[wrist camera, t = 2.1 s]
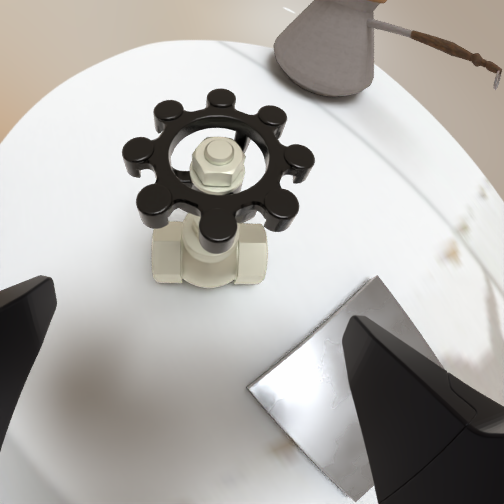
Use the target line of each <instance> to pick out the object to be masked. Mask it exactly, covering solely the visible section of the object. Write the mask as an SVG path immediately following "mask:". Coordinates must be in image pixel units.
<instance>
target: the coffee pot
mask: <svg viewBox="0 0 504 504" xmlns="http://www.w3.org/2000/svg"><path fill="white" fill-rule="evenodd" d="M386 1H387V0H314V1H313V2H312V3H311V4H310V5H309V6H308V7H307V8H306V9H305V10H304V11H303V12H302V13H301V14H300V15H299V16H298V17H297V18H296V19H295V20H294V21H293V22H292V23H291V24H290V25H289V26H288V27H287V28H286V29H285V30H284V31H283V32H282V33H281V34H280V35H279V36H278V37H277V39H276V41H275V43H274V52H275V56H276V60H277V61H278V63H279V65H280V66H281V68H282V69H283V70H284V71H285V72H286V73H287V75H288V76H289V78H290V79H291V80H292V81H293V82H294V83H296V84H297V85H299V86H300V87H302V88H304V89H306V90H308V91H310V92H312V93H315V94H318V95H323V96H328V97H337V96H346V95H352V94H357V93H359V92H361V91H363V90H364V89H366V88H367V87H369V86H370V85H371V83H372V80H373V78H374V28H376V29H380V30H384V31H388V32H392V33H396V34H400V35H403V36H406V37H410V38H412V39H414V40H416V41H419V42H421V43H424V44H426V45H429V46H431V47H434V48H436V49H438V50H441V51H443V52H445V53H447V54H449V55H451V56H455V57H459V58H462V59H465V60H469V61H472V63H473V64H474V65H475V66H483V67H486V68H487V70H489V71H491V72H493V73H497V74H496V77H495V82H494V89H495V90H496V89H497V87H498V84H499V81H500V76H501V72H502V69H501V68H500V67H498V66H497V65H496V64H494V63H493V62H490V61H486V60H484V59H482V57H481V56H480V54H478V53H475V54H472V53H470V52H469V51H467V50H465V49H464V48H462V47H460V46H458V45H457V44H455V43H453V42H450V41H447V40H444V39H441V38H438V37H434V36H431V35H427V34H424V33H421V32H417V31H411V30H408V29H405V28H402V27H398V26H395V25H392V24H389V23H385V22H381V21H378V20H374V18H373V11H374V10H375V8H376V7H377V6H378V5H379V4H380V3H385V2H386ZM498 75H499V76H498ZM497 78H498V81H497ZM496 82H497V84H496Z"/></svg>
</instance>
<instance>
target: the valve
mask: <svg viewBox="0 0 504 504" xmlns="http://www.w3.org/2000/svg"><path fill="white" fill-rule="evenodd" d="M235 102H236V97H235V95H234V94H233V93H232V92H231V91H229V90H226V89H215V90H212V91H211V92H209V94H208V95H207V101H206V108H205V109H202V110H198V111H194V112H188V111H185V110H184V109H183V106H182V104H181V103H179V102H177V101H174V100H166V101H163V102H160V103H159V104H158V105H156V107H155V108H154V121H155V129H156V131H157V132H158V133H161V132H162V131H163V132H162V133H161V135H160V136H159V137H158V138H157V139H155V140H150V139H148V138H145V137H137V138H133V139H131V140H130V141H128V142H127V143H126V144H125V145H124V147H123V150H122V156H123V159H124V163H125V166H126V169H127V172H128V173H129V174H130V175H131V176H133V177H137V178H140V177H141V170H143V169H150V170H152V171H153V172H154V173H155V177H156V182H155V184H151V185H148V186H146V187H144V188H143V189H142V190H141V191H140V192H139V193H138V195H137V199H136V205H137V208H138V211H139V214H140V217H141V220H142V222H143V223H144V224H145V225H146V226H148V227H150V228H153V229H154V231H153V237H152V249H151V262H152V273H153V277H154V279H155V280H156V281H157V282H158V283H182V279H184V280H185V281H187V282H189V283H190V284H193V285H195V286H198V287H203V288H216V287H220V286H223V285H226V284H228V283H230V282H231V281H233V280H234V283H235V284H259V283H261V282H262V281H263V280H264V278H265V275H266V269H267V259H268V245H267V236H266V232H265V229H264V227H265V228H267V229H268V230H270V231H273V232H281V231H284V230H286V229H287V228H288V227H289V226H290V225H291V223H292V221H293V220H294V218H295V217H296V215H297V213H298V211H299V202H298V200H297V198H296V196H295V195H294V194H293V193H292V192H290V191H288V190H286V189H282V188H281V186H280V179H281V177H282V176H284V175H293V183H295V184H297V183H301V182H303V181H304V180H305V179H306V178H307V176H308V174H309V172H310V171H311V169H312V167H313V165H314V163H315V158H314V155H313V153H312V152H311V151H310V150H309V149H308V148H307V147H305V146H302V145H299V144H293V145H290V146H288V147H287V146H284V145H282V144H281V143H280V142H279V140H278V139H279V138H280V137H281V135H282V132H283V129H284V127H285V124H286V121H287V116H286V113H285V112H284V111H283V110H282V109H280V108H278V107H276V106H270V105H268V106H264V107H262V108H260V109H259V111H258V113H257V114H255V115H248V114H245V113H242V112H239V111H237V110H236V109H235V108H234V107H235ZM206 128H226V129H230V130H234V131H236V133H235V139H234V140H233V139H231V138H226V137H207V138H206V139H204V140H203V141H202V142H201V143H200V144H199V146H198V147H197V148H196V149H195V151H194V152H193V154H192V162H191V164H190V171H179V170H176V169H174V168H173V167H172V166H171V155H172V153H173V151H174V148H175V147H176V146H177V144H178V143H179V142H180V141H181V140H182V139H183V138H185V137H186V136H188V135H190V134H192V133H194V132H196V131H199V130H203V129H206ZM250 140H252V141H254V142H255V143H256V144H257V145H258V147H259V148H260V150H261V151H262V153H263V155H264V159H265V163H266V171H265V174H264V176H263V177H262V178H261V180H260V181H259V182H257V183H256V184H255V185H254V186H252V187H250V188H249V189H247V190H244V191H242V192H240V191H241V186H242V182H243V178H244V174H245V167H244V162H245V157H246V156H245V155H244V153H245V151H246V149H247V147H248V145H249V143H250ZM177 208H180V209H182V210H184V211H186V212H188V214H187V216H186V217H185V219H184V221H183V222H168V217H169V216H170V214H171V213H172V212H173V211H174V210H175V209H177ZM257 211H259V212H260V213H261V214H262V215H263V216H264V218H265V219H266V222H265V224H264V227H263V226H262V224H245V223H244V222H246V221H248V220H250V219H252V218H253V217H254V216H255V214H256V212H257Z"/></svg>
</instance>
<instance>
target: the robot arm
mask: <svg viewBox="0 0 504 504" xmlns="http://www.w3.org/2000/svg"><path fill="white" fill-rule="evenodd" d="M56 306H57V299H56V294H55V288H54V283H53V280H52V278H51V277H47V276H42V275H40V276H37V277H34V278H32V279H29V280H27V281H24V282H22V283H19V284H16V285H14V286H11V287H9V288H6V289H4V290H1V291H0V451H1V448H2V444H3V441H4V438H5V435H6V432H7V429H8V426H9V423H10V420H11V418H12V415H13V412H14V410H15V407H16V404H17V402H18V399H19V397H20V394H21V392H22V389H23V387H24V384H25V382H26V380H27V377H28V375H29V373H30V370H31V368H32V366H33V364H34V362H35V359H36V357H37V355H38V353H39V351H40V348H41V346H42V343H43V341H44V338H45V335H46V333H47V330H48V327H49V325H50V322H51V320H52V317H53V314H54V312H55V310H56ZM342 347H343V352H344V358H345V364H346V370H347V377H348V382H349V387H350V391H351V394H352V398H353V401H354V405H355V409H356V413H357V416H358V420H359V424H360V428H361V432H362V436H363V440H364V444H365V448H366V452H367V456H368V460H369V464H370V469H371V473H372V477H373V482H374V486H375V491H376V495H377V500H378V504H504V407H503V406H502V405H500V404H498V403H497V402H495V401H493V400H492V399H490V398H488V397H486V396H485V395H483V394H481V393H480V392H478V391H476V390H475V389H473V388H472V387H470V386H468V385H467V384H465V383H464V382H462V381H461V380H459V379H458V378H456V377H455V376H453V375H452V374H450V373H447V371H446V370H445V369H443V368H442V367H440V366H439V365H437V364H436V363H434V362H433V361H431V360H430V359H428V358H427V357H425V356H424V355H423V354H421V353H420V352H418V351H417V350H415V349H414V348H412V347H411V346H409V345H408V344H406V343H405V342H403V341H402V340H400V339H399V338H397V337H396V336H394V335H393V334H392V333H390V332H389V331H387V330H386V329H384V328H383V327H381V326H380V325H378V324H377V323H375V322H374V321H372V320H371V319H369V318H368V317H366V316H364V315H353V316H351V317H350V319H349V322H348V324H347V327H346V329H345V331H344V334H343V337H342Z"/></svg>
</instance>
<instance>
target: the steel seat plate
mask: <svg viewBox="0 0 504 504" xmlns="http://www.w3.org/2000/svg"><path fill="white" fill-rule="evenodd" d="M353 315H364V316H366V317H368V318H369V319H371V320H372V321H374V322H375V323H377V324H378V325H380V326H381V327H383V328H384V329H386V330H387V331H389V332H390V333H392V334H393V335H394V336H396V337H397V338H399V339H400V340H402V341H403V342H405V343H406V344H408V345H409V346H411V347H412V348H414V349H415V350H417V351H418V352H420V353H421V354H423V355H424V356H425V357H427V358H428V359H430V360H431V361H433V362H434V363H436V364H437V365H439V366H440V367H442V368H443V366H442V365H441V363H440V362H439V360H438V359H437V357H436V356H435V354H434V353H433V351H432V350H431V348H430V347H429V345H428V344H427V342H426V341H425V339H424V338H423V337H422V335H421V334H420V332H419V331H418V329H417V328H416V327H415V325H414V324H413V322H412V321H411V320H410V318H409V317H408V315H407V314H406V313H405V311H404V310H403V309H402V307H401V306H400V304H399V303H398V302H397V300H396V299H395V298H394V296H393V295H392V294H391V292H390V291H389V290H388V288H387V287H386V286H385V285H384V283H383V282H382V281H381V279H380V278H379V277H378V275H377V276H375V277H373V278H372V279H370V280H369V281H368V282H367V283H366V284H365V285H364V286H363V287H362V288H361V289H360V290H359V291H358V292H356V293H355V294H354V295H353V296H352V297H351V298H350V299H349V300H348V301H347V302H346V303H345V304H344V305H343V306H342V307H341V308H340V309H339V310H337V311H336V312H335V313H334V314H333V315H332V316H331V317H330V318H329V319H328V320H327V321H325V322H324V323H323V324H322V325H321V326H320V327H319V328H318V329H316V330H315V331H314V332H313V333H312V334H311V335H310V336H309V337H307V338H306V339H305V340H304V341H303V342H302V343H300V344H299V345H298V346H297V347H296V348H295V349H293V350H292V351H291V352H290V353H289V354H287V355H286V356H285V357H284V358H283V359H281V360H280V361H279V362H278V363H277V364H275V365H274V366H273V367H272V368H270V369H269V370H268V371H267V372H265V373H264V374H263V375H262V376H260V377H259V378H258V379H257V380H255V381H254V382H253V383H251V384H250V385H249V386H248V387H246V388H247V389H248V390H249V391H250V392H251V394H252V395H253V396H254V397H255V398H256V400H257V401H258V402H259V403H260V404H261V405H262V407H263V408H264V409H265V410H266V411H267V412H268V414H269V415H270V416H271V417H272V418H273V419H274V420H275V421H276V423H277V424H278V425H279V426H280V427H281V428H282V429H283V430H284V431H285V433H286V434H287V435H288V436H289V437H290V438H291V439H292V440H293V441H294V442H295V443H296V445H297V446H298V447H299V448H300V449H301V450H302V451H303V452H304V453H305V454H306V455H307V456H308V457H309V458H310V459H311V460H312V461H313V462H314V463H315V464H316V465H317V466H318V467H319V468H320V470H321V471H322V472H323V473H324V474H325V475H326V476H327V477H328V478H330V479H331V480H332V481H333V482H334V483H335V484H336V485H337V486H338V487H339V488H340V489H341V490H342V491H343V492H344V493H345V494H346V495H347V496H348V497H349V498H351V499H352V500H354V501H355V502H356V501H357V500H359V499H360V498H361V497H362V496H363V495H364V494H365V493H366V492H367V491H368V490H369V489H370V488H372V487H373V486H374V482H373V477H372V473H371V469H370V464H369V460H368V456H367V452H366V448H365V444H364V440H363V436H362V432H361V428H360V424H359V420H358V416H357V413H356V409H355V405H354V401H353V398H352V394H351V391H350V387H349V382H348V377H347V370H346V364H345V358H344V352H343V347H342V337H343V334H344V331H345V329H346V327H347V324H348V322H349V319H350V317H351V316H353ZM443 369H444V368H443Z"/></svg>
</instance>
